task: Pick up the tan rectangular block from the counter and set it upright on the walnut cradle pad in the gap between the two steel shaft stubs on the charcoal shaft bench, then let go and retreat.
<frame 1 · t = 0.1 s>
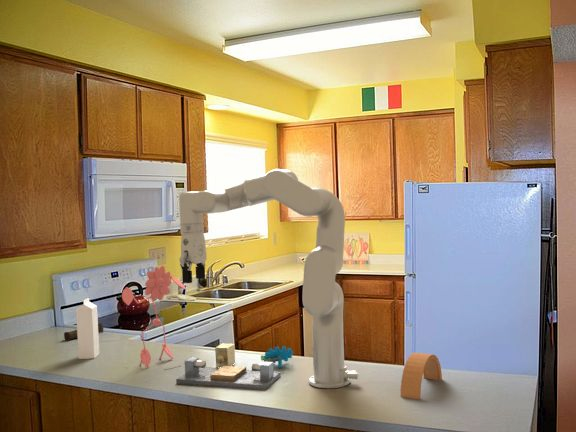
hand: (194, 280, 199), 31 cm above the worktop, fingers open, 9 cm apart
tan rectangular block: (225, 365, 209), on the worktop
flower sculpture: (162, 365, 213), on the worktop
milk: (89, 357, 228), on the worktop
hand tool: (84, 336, 264), on the worktop
gear: (277, 366, 206), on the worktop
arch: (422, 388, 178), on the worktop
shaft bench: (229, 380, 192), on the worktop
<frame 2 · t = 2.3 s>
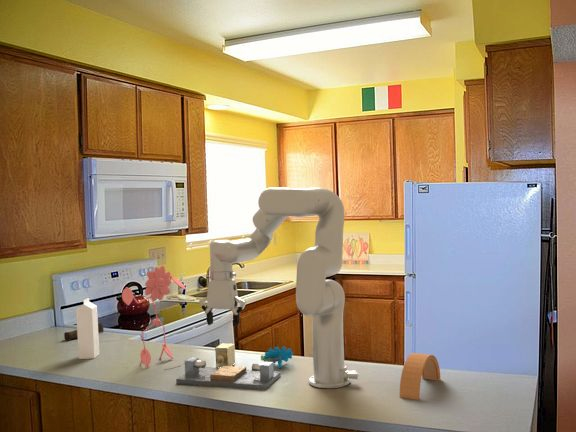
hand: (223, 325, 209), 14 cm above the worktop, fingers open, 9 cm apart
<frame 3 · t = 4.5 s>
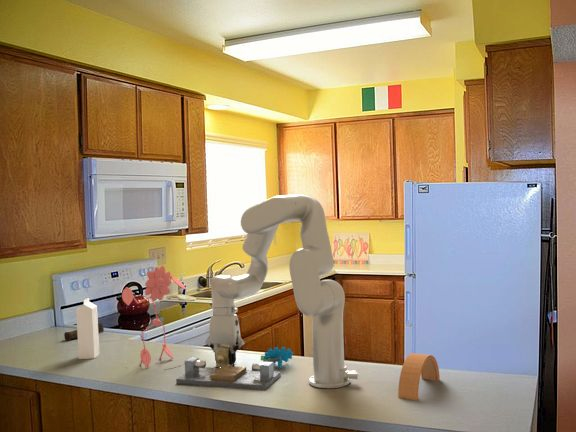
hand: (225, 362, 209), 1 cm above the worktop, fingers closed on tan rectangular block, 4 cm apart
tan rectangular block: (225, 365, 209), on the worktop, touching gripper
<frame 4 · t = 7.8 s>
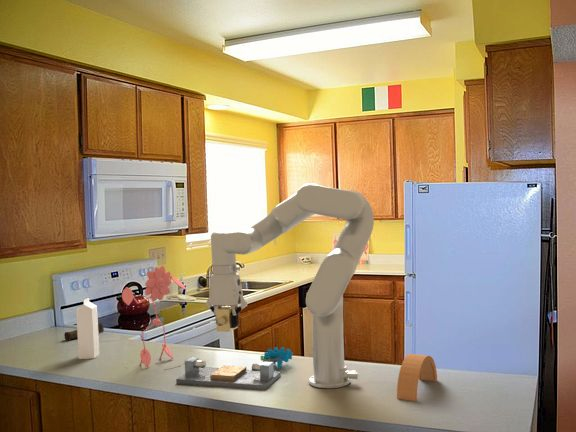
hand: (227, 326, 192), 17 cm above the worktop, fingers closed on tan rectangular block, 4 cm apart
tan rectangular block: (227, 329, 192), point 16 cm above the worktop, touching gripper
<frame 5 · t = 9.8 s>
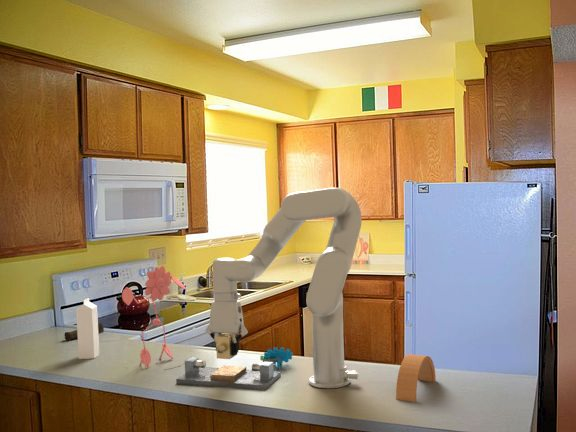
hand: (227, 353, 192), 9 cm above the worktop, fingers closed on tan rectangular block, 4 cm apart
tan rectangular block: (227, 356, 192), point 8 cm above the worktop, touching gripper
when the fingers open (5 cm above the worktop, at t = 11.2 s): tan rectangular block drops 1 cm, resting on shaft bench.
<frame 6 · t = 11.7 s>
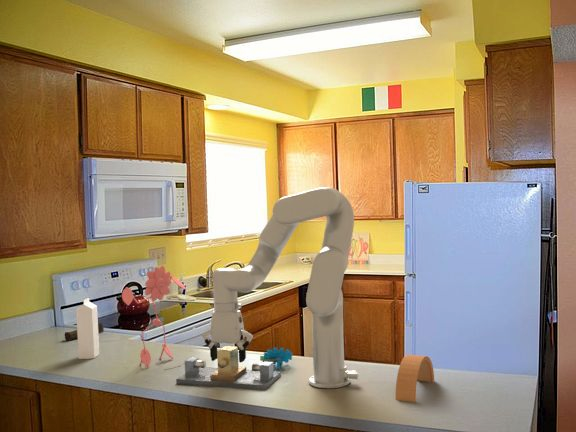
hand: (228, 360, 192), 6 cm above the worktop, fingers open, 9 cm apart
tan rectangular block: (228, 370, 192), point 3 cm above the worktop, touching shaft bench
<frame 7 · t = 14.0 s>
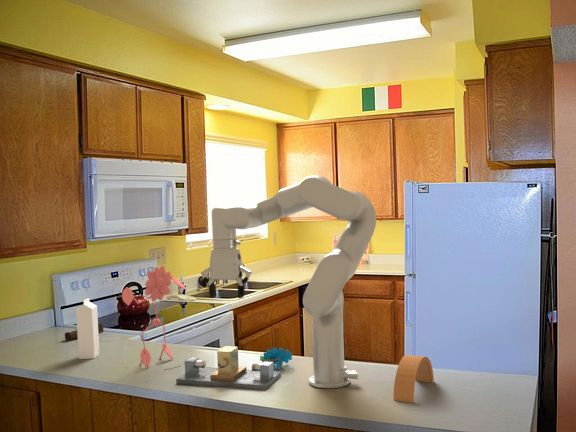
hand: (227, 297, 195), 26 cm above the worktop, fingers open, 9 cm apart
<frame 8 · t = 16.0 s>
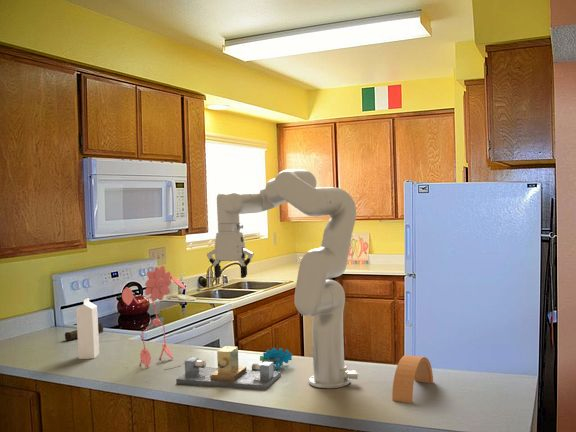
hand: (230, 277, 210), 30 cm above the worktop, fingers open, 9 cm apart
at the end: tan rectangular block 0.1 cm off-centre on the shaft bench, point 3.0 cm above the shaft bench's base; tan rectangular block tilted 0°; the gripper is holding nothing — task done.
